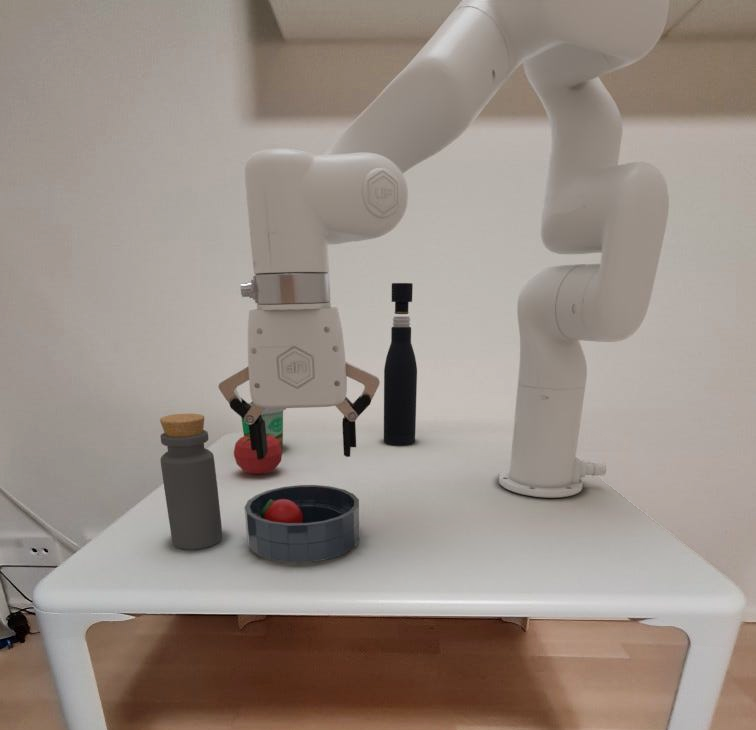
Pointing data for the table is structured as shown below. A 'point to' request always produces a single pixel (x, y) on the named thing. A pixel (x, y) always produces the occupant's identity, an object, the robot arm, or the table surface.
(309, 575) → the table surface
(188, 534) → the bottle
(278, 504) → the cherry tomato
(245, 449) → the tomato
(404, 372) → the black water bottle
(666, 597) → the table surface
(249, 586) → the table surface
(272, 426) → the food container
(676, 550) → the table surface
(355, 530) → the bowl
